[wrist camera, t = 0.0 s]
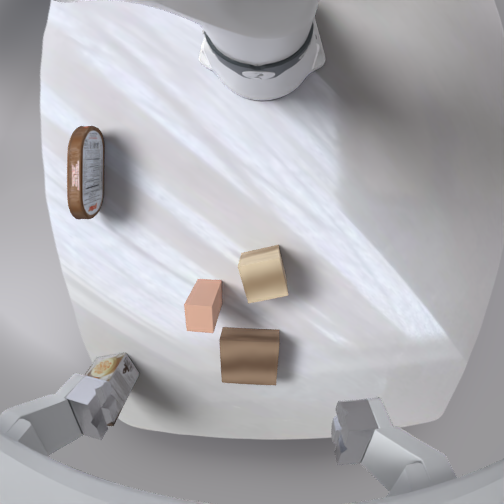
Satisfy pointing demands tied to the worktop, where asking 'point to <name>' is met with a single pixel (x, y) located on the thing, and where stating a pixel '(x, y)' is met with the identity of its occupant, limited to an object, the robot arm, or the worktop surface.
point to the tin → (85, 172)
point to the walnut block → (249, 355)
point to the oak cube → (263, 274)
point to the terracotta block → (203, 306)
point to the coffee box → (115, 377)
